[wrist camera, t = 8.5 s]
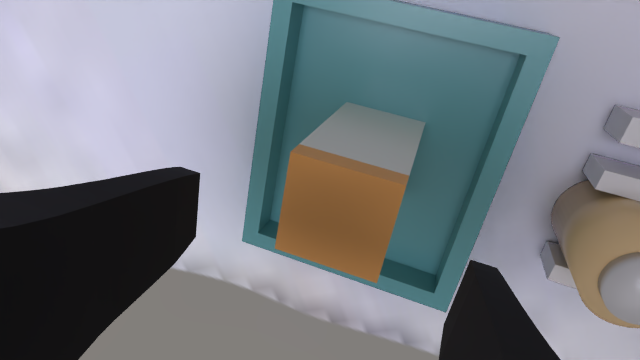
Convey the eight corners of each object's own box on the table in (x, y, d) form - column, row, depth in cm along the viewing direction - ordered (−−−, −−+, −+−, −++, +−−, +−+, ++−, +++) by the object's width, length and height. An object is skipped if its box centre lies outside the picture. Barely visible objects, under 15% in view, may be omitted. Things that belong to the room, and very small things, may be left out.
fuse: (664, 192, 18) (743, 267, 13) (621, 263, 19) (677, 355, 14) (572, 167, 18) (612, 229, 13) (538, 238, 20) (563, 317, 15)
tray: (549, 33, 17) (560, 37, 15) (447, 286, 22) (445, 312, 20) (295, -22, 19) (276, -25, 17) (259, 222, 24) (242, 241, 22)
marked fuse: (425, 122, 19) (406, 185, 12) (403, 194, 20) (376, 283, 14) (346, 101, 19) (290, 151, 13) (331, 173, 21) (274, 248, 15)
